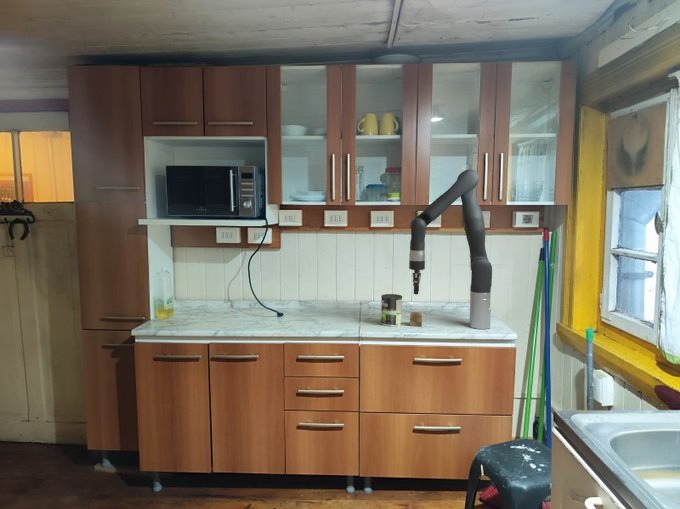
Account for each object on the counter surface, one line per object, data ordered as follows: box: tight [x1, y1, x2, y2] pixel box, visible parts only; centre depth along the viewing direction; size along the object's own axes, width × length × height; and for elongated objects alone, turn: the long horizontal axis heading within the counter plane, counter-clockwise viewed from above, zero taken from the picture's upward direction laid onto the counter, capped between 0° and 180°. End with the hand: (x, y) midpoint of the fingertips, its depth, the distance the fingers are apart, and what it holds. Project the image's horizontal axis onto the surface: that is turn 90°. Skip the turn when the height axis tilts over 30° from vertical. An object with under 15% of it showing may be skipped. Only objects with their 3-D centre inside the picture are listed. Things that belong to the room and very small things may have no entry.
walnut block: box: [409, 311, 423, 328], centre depth 207 cm, size 6×6×6 cm
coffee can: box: [380, 293, 403, 327], centre depth 209 cm, size 10×10×14 cm
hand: (416, 292), depth 206 cm, fingers open, 8 cm apart
